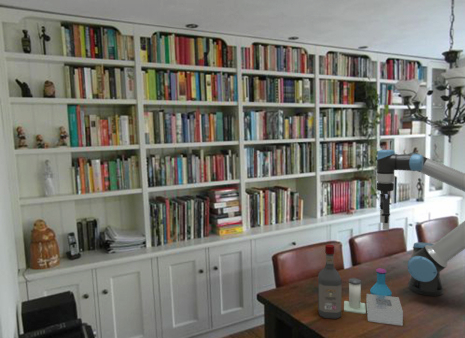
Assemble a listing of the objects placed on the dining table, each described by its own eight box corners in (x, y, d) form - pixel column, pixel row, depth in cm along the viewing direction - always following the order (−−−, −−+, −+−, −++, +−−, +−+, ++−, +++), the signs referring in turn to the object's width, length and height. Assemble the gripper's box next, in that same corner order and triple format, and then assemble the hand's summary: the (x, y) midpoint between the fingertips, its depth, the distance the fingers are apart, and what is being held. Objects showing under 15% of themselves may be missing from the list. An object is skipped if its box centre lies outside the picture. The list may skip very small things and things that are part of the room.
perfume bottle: (389, 307, 156) (390, 274, 155) (368, 302, 161) (368, 271, 159) (392, 299, 164) (393, 268, 162) (372, 294, 169) (372, 264, 167)
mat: (365, 304, 159) (365, 303, 159) (365, 314, 151) (365, 312, 151) (344, 301, 162) (344, 300, 162) (344, 311, 154) (344, 309, 154)
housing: (398, 310, 153) (398, 297, 153) (402, 325, 141) (402, 311, 140) (366, 306, 157) (366, 293, 157) (367, 321, 145) (368, 307, 144)
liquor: (341, 319, 147) (342, 249, 144) (319, 318, 148) (319, 248, 145) (339, 309, 156) (339, 243, 153) (317, 307, 157) (318, 242, 154)
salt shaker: (360, 304, 158) (361, 278, 157) (361, 310, 153) (361, 283, 152) (348, 303, 160) (348, 277, 159) (348, 308, 155) (348, 282, 154)
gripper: (374, 179, 180) (374, 219, 182) (378, 185, 157) (378, 232, 158) (390, 179, 178) (389, 220, 180) (397, 186, 154) (396, 233, 156)
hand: (384, 226), depth 169 cm, fingers open, 13 cm apart
